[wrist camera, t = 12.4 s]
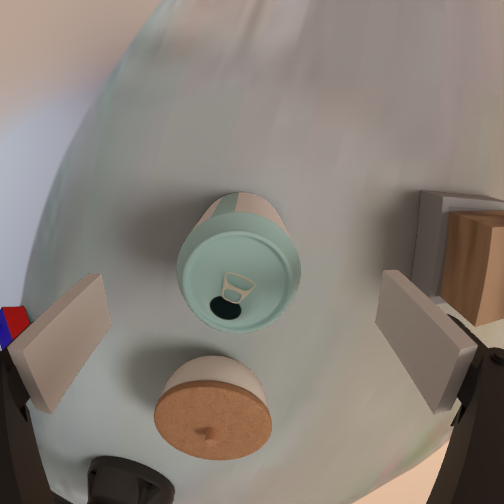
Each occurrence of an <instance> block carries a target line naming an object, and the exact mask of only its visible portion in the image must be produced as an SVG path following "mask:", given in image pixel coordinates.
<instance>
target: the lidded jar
mask: <svg viewBox="0 0 504 504" xmlns="http://www.w3.org/2000/svg"><path fill="white" fill-rule="evenodd" d="M154 422H155V425H156V428H157V430H158V431H159V433H160V434H161V436H162V437H163V438H164V439H165V440H166V441H167V442H168V443H169V444H170V445H172V446H173V447H174V448H176V449H178V450H180V451H182V452H184V453H186V454H188V455H191V456H195V457H198V458H203V459H209V460H230V459H237V458H241V457H244V456H247V455H249V454H251V453H253V452H255V451H257V450H258V449H259V448H261V447H262V446H263V445H264V444H265V443H266V441H267V440H268V438H269V437H270V434H271V429H272V422H271V417H270V413H269V406H268V401H267V397H266V393H265V391H264V389H263V387H262V384H261V382H260V381H259V379H258V378H257V376H256V375H255V374H254V373H253V372H252V371H251V370H250V369H249V368H248V367H246V366H245V365H243V364H242V363H240V362H238V361H236V360H234V359H231V358H228V357H224V356H203V357H199V358H195V359H193V360H190V361H188V362H187V363H185V364H183V365H182V366H181V367H179V368H178V369H177V370H176V371H175V372H174V373H173V375H172V376H171V377H170V379H169V380H168V382H167V383H166V385H165V387H164V389H163V392H162V394H161V397H160V399H159V401H158V403H157V405H156V408H155V412H154Z"/></svg>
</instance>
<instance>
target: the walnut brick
mask: <svg viewBox="0 0 504 504" xmlns="http://www.w3.org/2000/svg"><path fill="white" fill-rule="evenodd" d="M440 297H441V298H442V299H443V300H445V301H446V302H447V303H448V304H449V305H450V306H452V307H453V308H454V309H455V310H456V311H457V312H459V313H460V314H461V315H462V316H463V317H464V318H465V319H467V320H468V321H469V322H470V323H471V324H472V325H473V326H475V327H476V326H480V325H483V324H487V323H490V322H494V321H497V320H500V319H504V210H487V211H449V217H448V232H447V244H446V254H445V263H444V271H443V279H442V286H441V292H440Z"/></svg>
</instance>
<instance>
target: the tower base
mask: <svg viewBox="0 0 504 504" xmlns="http://www.w3.org/2000/svg"><path fill="white" fill-rule="evenodd" d="M487 210H504V201H503V200H499V199H495V198H491V197H485V196H476V195H467V194H456V193H445V192H434V191H420V206H419V218H418V228H417V238H416V246H415V254H414V261H413V268H412V275H411V282H412V283H413V284H414V285H415V286H416V287H417V288H419V289H420V290H421V291H422V292H423V293H424V294H425V295H426V296H427V297H428V298H430V299H431V300H432V301H433V302H434V303H435V304H439V303H447V302H446V301H445V300H443V299H442V298H441V297H440V292H441V286H442V279H443V271H444V263H445V254H446V244H447V232H448V217H449V211H487Z"/></svg>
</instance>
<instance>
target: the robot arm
mask: <svg viewBox="0 0 504 504" xmlns="http://www.w3.org/2000/svg"><path fill="white" fill-rule="evenodd" d="M375 323H376V324H377V326H378V327H379V329H380V330H381V332H382V333H383V335H384V336H385V338H386V339H387V341H388V342H389V344H390V345H391V347H392V348H393V350H394V351H395V353H396V354H397V356H398V358H399V359H400V361H401V362H402V364H403V365H404V367H405V369H406V370H407V372H408V373H409V375H410V376H411V378H412V380H413V381H414V383H415V384H416V386H417V388H418V389H419V391H420V393H421V394H422V396H423V397H424V399H425V401H426V402H427V404H428V406H429V407H430V409H431V411H432V412H433V414H438V413H441V412H445V411H448V410H451V408H452V406H453V404H454V402H455V400H456V398H457V397H458V399H459V400H460V402H461V403H462V404H461V406H460V408H459V410H458V412H457V414H456V416H455V418H454V420H453V422H452V424H451V425H450V426H454V428H453V432H452V435H451V438H450V441H449V445H448V448H447V451H446V454H445V457H444V460H443V463H442V465H441V468H440V471H439V474H438V476H437V479H436V481H435V484H434V486H433V489H432V491H431V494H430V496H429V498H428V501H427V503H426V504H504V349H501V348H496V347H493V348H487V347H486V346H485V345H484V344H483V343H482V342H481V341H480V340H479V339H478V338H477V337H476V336H475V335H474V334H473V333H471V331H470V330H469V329H468V328H467V327H465V325H464V324H463V323H462V322H460V321H459V320H458V319H457V318H455V317H453V316H451V315H449V314H446V313H444V312H443V311H442V310H441V309H440V308H439V307H438V306H437V305H436V304H435V303H434V302H433V301H432V300H431V299H430V298H428V297H427V296H426V295H425V294H424V293H423V292H422V291H421V290H420V289H419V288H417V287H416V286H415V285H414V284H413V283H412V282H411V281H410V280H409V279H407V278H406V277H405V276H404V275H403V274H402V273H401V272H400V271H398V270H383V276H382V283H381V290H380V296H379V303H378V309H377V315H376V320H375ZM111 325H112V322H111V318H110V313H109V309H108V304H107V299H106V294H105V289H104V284H103V279H102V274H87V275H86V276H85V277H84V278H83V279H81V280H80V281H79V282H78V283H77V284H76V285H74V286H73V287H72V288H71V289H70V290H69V291H67V292H66V293H65V294H64V295H63V296H62V297H61V298H60V299H58V300H57V301H56V302H55V303H54V304H53V305H52V306H51V307H49V308H48V309H47V310H46V311H45V312H44V313H43V314H42V315H41V316H40V317H38V318H37V319H36V320H35V321H34V322H32V323H30V324H29V325H28V326H27V327H26V328H25V329H24V330H23V332H20V333H19V334H18V335H17V337H15V338H14V339H13V340H12V341H11V342H10V343H9V344H8V345H7V346H6V347H5V348H4V349H3V350H2V351H0V504H73V503H71V502H69V501H68V500H66V499H64V498H63V497H61V496H59V495H58V494H56V493H54V492H53V491H51V489H50V486H49V483H48V480H47V477H46V474H45V471H44V468H43V465H42V461H41V458H40V454H39V451H38V447H37V443H36V439H35V435H34V431H33V426H32V422H31V417H30V412H29V409H28V407H27V406H26V402H27V401H28V400H29V398H30V399H31V401H32V403H33V405H34V406H35V408H36V410H39V411H43V412H46V413H50V414H52V413H53V411H54V409H55V408H56V406H57V405H58V403H59V402H60V400H61V398H62V397H63V395H64V394H65V392H66V391H67V389H68V388H69V386H70V385H71V383H72V382H73V380H74V379H75V377H76V376H77V374H78V373H79V371H80V370H81V368H82V367H83V365H84V364H85V362H86V361H87V359H88V358H89V357H90V355H91V354H92V352H93V351H94V349H95V348H96V346H97V345H98V344H99V342H100V341H101V339H102V338H103V337H104V335H105V334H106V332H107V331H108V330H109V328H110V327H111ZM174 494H175V489H174V486H173V485H172V483H171V482H170V481H169V480H168V479H167V478H165V477H164V476H163V475H161V474H159V473H158V472H156V471H154V470H152V469H150V468H148V467H146V466H144V465H141V464H139V463H136V462H133V461H130V460H126V459H122V458H117V457H98V458H96V459H94V460H93V461H92V462H91V465H90V467H89V470H88V502H87V504H172V503H173V500H174Z"/></svg>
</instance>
